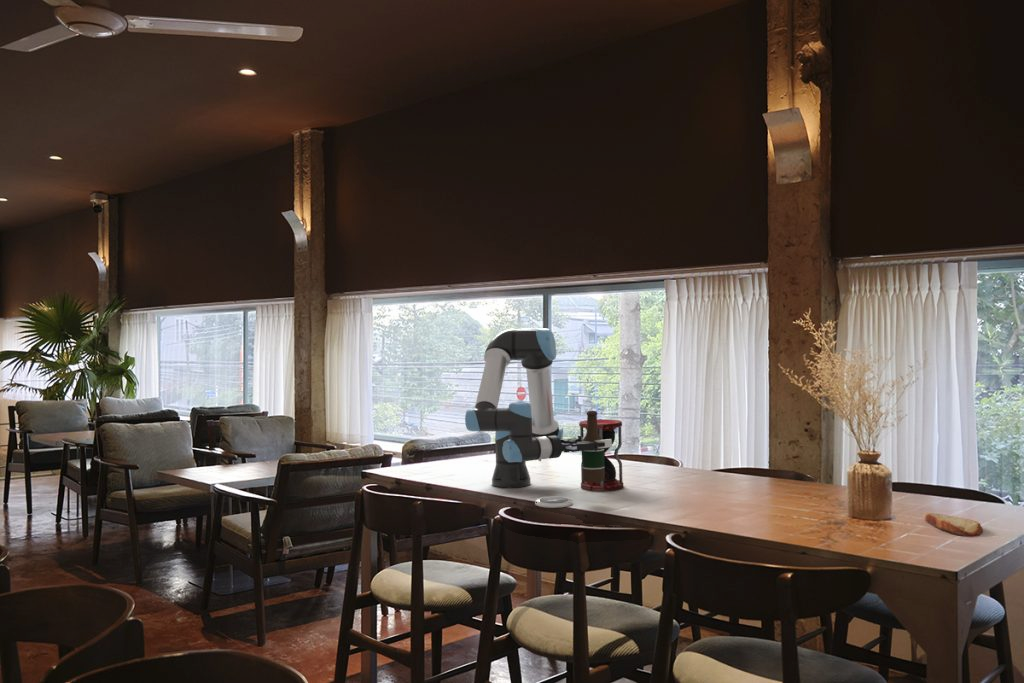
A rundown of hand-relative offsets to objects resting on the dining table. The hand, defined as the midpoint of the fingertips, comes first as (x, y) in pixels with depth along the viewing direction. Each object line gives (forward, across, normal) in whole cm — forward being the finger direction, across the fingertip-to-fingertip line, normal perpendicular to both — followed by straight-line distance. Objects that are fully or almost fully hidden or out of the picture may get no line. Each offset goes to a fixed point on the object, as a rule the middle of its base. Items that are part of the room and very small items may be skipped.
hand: (604, 441), depth 286 cm
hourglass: (+13, -22, -21) cm, 33 cm away
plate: (-17, -7, -21) cm, 28 cm away
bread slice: (+65, +84, -22) cm, 108 cm away
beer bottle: (-5, 0, -13) cm, 14 cm away
